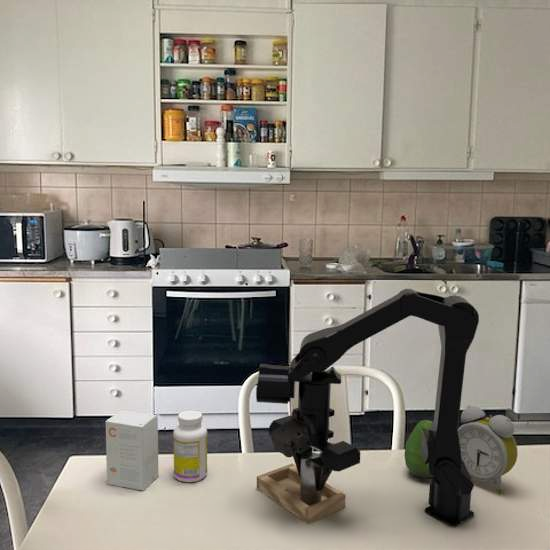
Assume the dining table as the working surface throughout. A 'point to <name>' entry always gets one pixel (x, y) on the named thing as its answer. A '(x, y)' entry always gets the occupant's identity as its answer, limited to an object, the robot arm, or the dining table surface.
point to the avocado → (417, 451)
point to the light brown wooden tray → (298, 494)
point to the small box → (132, 449)
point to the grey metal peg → (309, 480)
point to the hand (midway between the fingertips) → (311, 485)
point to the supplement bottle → (190, 447)
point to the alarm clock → (487, 445)
